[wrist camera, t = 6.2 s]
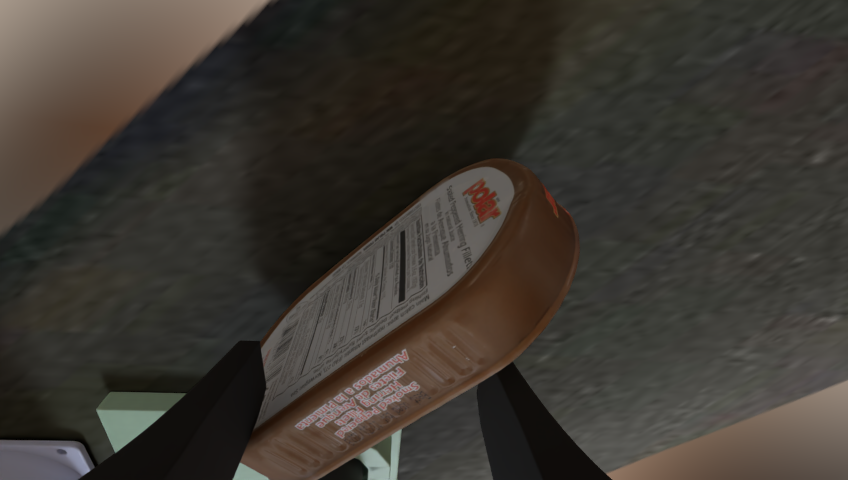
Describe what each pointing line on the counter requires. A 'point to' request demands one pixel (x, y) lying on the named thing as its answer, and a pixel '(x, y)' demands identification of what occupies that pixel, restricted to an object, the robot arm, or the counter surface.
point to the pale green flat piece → (141, 409)
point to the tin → (412, 318)
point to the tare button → (346, 471)
